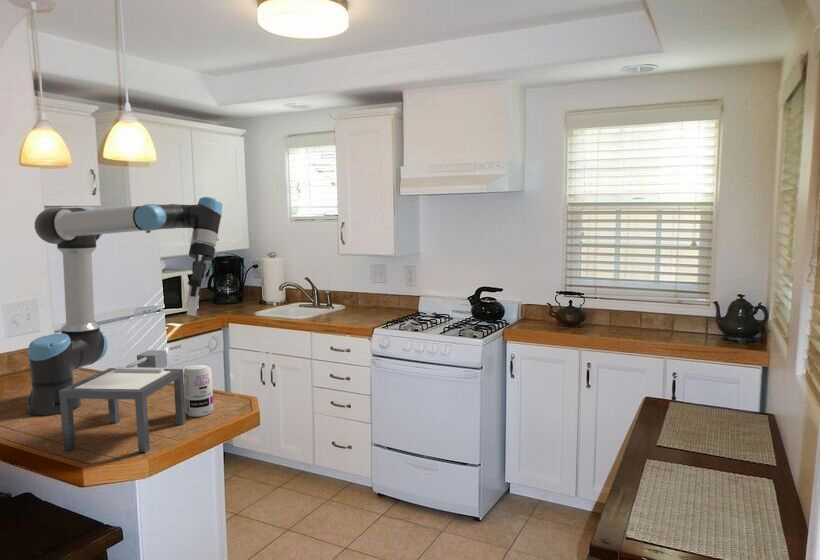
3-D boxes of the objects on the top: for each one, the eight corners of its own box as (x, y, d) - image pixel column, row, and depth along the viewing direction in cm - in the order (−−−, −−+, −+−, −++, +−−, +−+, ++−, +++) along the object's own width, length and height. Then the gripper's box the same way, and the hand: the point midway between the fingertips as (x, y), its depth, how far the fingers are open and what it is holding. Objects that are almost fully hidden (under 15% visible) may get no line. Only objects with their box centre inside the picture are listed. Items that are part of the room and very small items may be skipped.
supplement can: (198, 407, 198) (195, 362, 196) (219, 410, 195) (216, 364, 193) (180, 415, 190) (177, 368, 188) (201, 418, 187) (199, 371, 185)
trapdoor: (74, 399, 164) (73, 380, 164) (143, 365, 199) (142, 350, 198) (138, 400, 162) (137, 381, 162) (196, 366, 197) (195, 350, 196)
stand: (63, 450, 164) (58, 390, 162) (113, 420, 186) (109, 368, 184) (145, 452, 161) (141, 392, 159) (185, 422, 184) (182, 369, 182)
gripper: (216, 236, 182) (204, 306, 176) (214, 257, 205) (203, 319, 200) (190, 232, 180) (176, 302, 174) (191, 253, 203) (179, 316, 197)
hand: (190, 311), depth 187 cm, fingers open, 13 cm apart
